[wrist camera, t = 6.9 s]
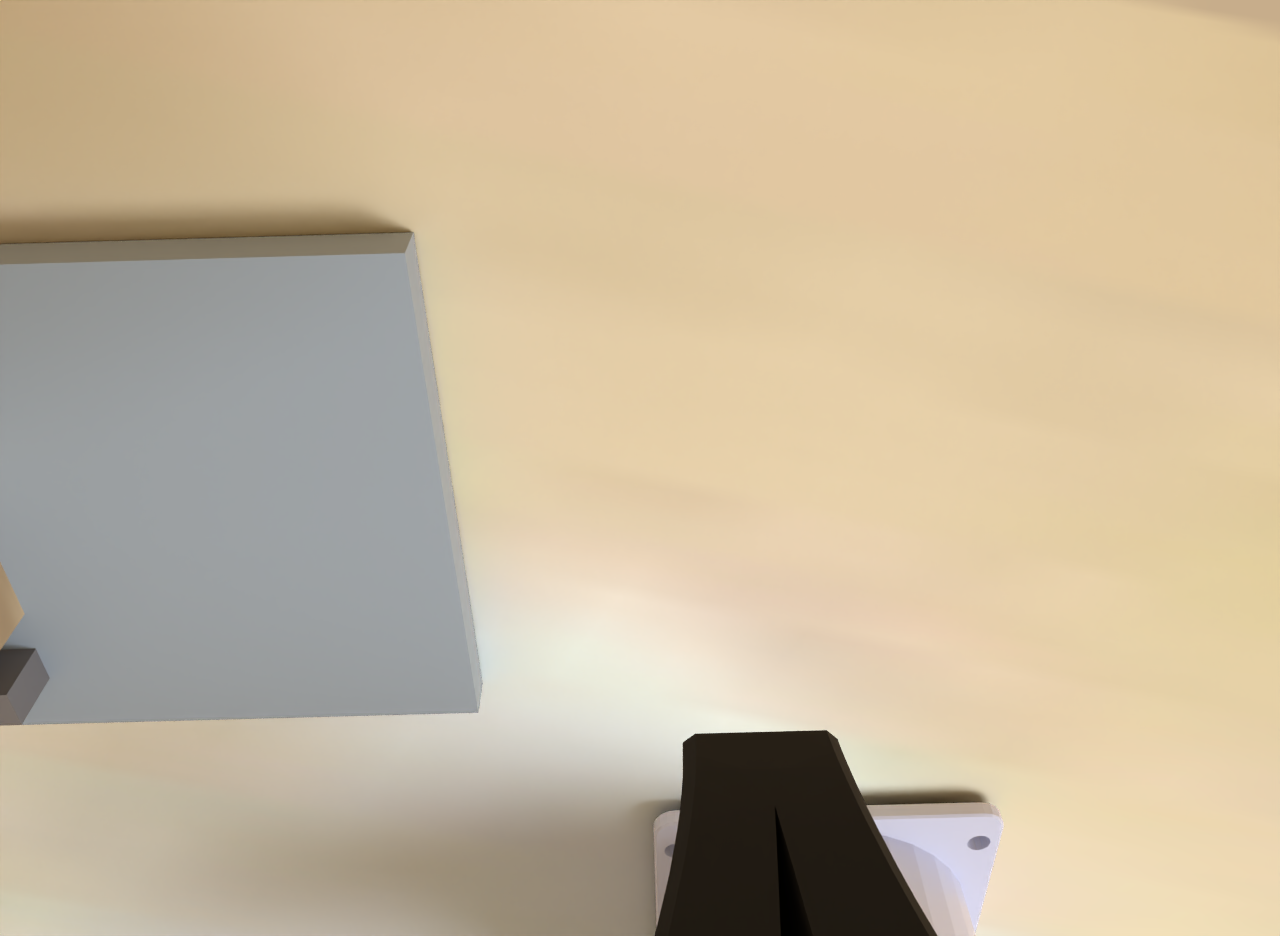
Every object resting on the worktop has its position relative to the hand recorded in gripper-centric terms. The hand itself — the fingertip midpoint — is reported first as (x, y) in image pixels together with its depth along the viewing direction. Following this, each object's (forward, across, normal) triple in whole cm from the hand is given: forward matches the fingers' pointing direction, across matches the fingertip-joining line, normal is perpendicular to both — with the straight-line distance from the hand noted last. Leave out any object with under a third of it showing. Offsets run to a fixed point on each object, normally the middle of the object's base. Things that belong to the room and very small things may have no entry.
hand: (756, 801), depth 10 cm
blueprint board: (+9, +12, +3) cm, 16 cm away
